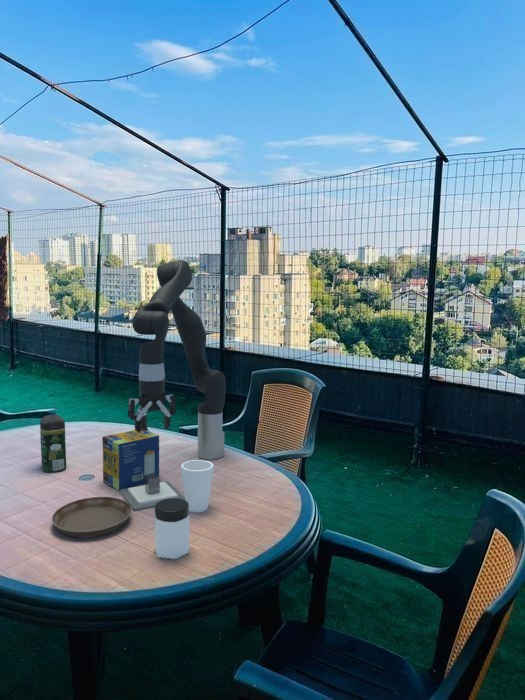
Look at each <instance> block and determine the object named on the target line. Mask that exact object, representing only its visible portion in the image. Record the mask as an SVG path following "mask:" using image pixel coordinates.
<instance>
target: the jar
mask: <svg viewBox="0 0 525 700" xmlns="http://www.w3.org/2000/svg"><path fill="white" fill-rule="evenodd" d="M189 513H190V511H189V504H188V502H187V501H185V500H183V499H179V498H168V499H164V500H161V501H159V502H158V503H156V505H155V507H154V550H155V554H156V556H157V557H156V558H160V557H161V558H162V559H168V558H169V560H170V559H171V560H176V559H179V558H181V557H183V556H185V555H186V554H189V553H190V540H191V539H190V533H191V532H190V522H191V521H190V514H189ZM161 558H160V559H161Z"/></svg>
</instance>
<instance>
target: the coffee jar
mask: <svg viewBox="0 0 525 700" xmlns="http://www.w3.org/2000/svg"><path fill="white" fill-rule="evenodd" d="M39 423H40V424H39V427H40V429H39V431H40V432H39V436H40V452H41V453H40V454H41V468H42V470H43V471H44V472H46V473H58V472H59V473H60V472H61V471H64V470H66V468H67V454H66V453H67V452H66V451H67V445H66V421H65V419H64V418H63V417H62V416H60V415H58V414H49V415H44V416H43V417H42V418H41V419H40V421H39Z"/></svg>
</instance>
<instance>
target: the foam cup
mask: <svg viewBox="0 0 525 700" xmlns="http://www.w3.org/2000/svg"><path fill="white" fill-rule="evenodd" d="M214 468H215V465H214V463H213V462H211V461H209V460H206V459H193V460H187V461H184V462H182V464H180V475H181V478H182V487H183V496H184V497H185V501H187V502H188V504H189V513H202V512H205V511H207V510H208V508H209V503H210V495H211V489H212V483H213V482H212V481H213V475H214V473H215V471H214Z"/></svg>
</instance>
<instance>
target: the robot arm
mask: <svg viewBox="0 0 525 700" xmlns="http://www.w3.org/2000/svg"><path fill="white" fill-rule="evenodd" d="M192 271H193V270H192V268H191V265H190V263H189V262H187V261H186V260H183V259H182V260H181V259H180V260H179V259H178V260H175V261H174V260H173V261H170V262H166V263H161V264H159V265H158V266H157V267H156V276H157V280H158V281H157V282H158V283H159V286H160V287H159V288H158V289H157V290H156V291H155V292H154V293H153V294H152V295H151V297H150V299H149V301H148V302H147V303H145V304H144V305H143V306H141V307H140V308H139V309H137V311H135V313H134V315H133V317H132V321H131V322H132V323H131V324H132V325H131V326H132V329H133V331H134V332H135V333H136V334H139V335H142V336H144V335H147V336H148V335H149V336H155V338H154V340H153V341H152V340H151V341H149V342H143V343H141V344H140V345H139V349H138V351H139V367H138V391H139V392H138V393H139V396H138V398H132V397H130V398H128V402H127V403H128V407H127V417H128V418H129V419H130V420H131V421H134V430H136V431H137V432H138V433H141V421H140V419H141V418H142V416H143V415H144V414H145V413H146V414H147V413H151V412H159V411H161V412H162V413H163V414H164V416H163V428H164V430H168V429H169V427H171V416H173V415H176V414H177V407H176V406H177V404H176V402H177V401H176V396H175V395H174V394H172V393H170V394H168V395H166V393H165V392H166V390H165V389H166V386H165V385H166V382H165V379H166V374H165V362H164V361H165V360H164V357H165V356H164V352H165V351H164V350H165V349H164V348H165V343H166V338H167V334H168V331H169V328H170V327H169V326H170V318H169V314H170V312H171V314H172V316H173V320H174V322H175V325H176V328H177V329H176V330H177V333H178V335H179V338H180V340H181V343H182V345H183V348H184V352H185V355H186V357H187V361H188V363H189V367H190V373H191V377H192V380H193V383H194V384H193V385H194V387H195V388H196V390H197V391H199V392H200V393H203V394H205V396H204V402H201V403H199V404H198V405H197V457H198V458H199V459H200V460H205V461H209V460H218V459H220V458H222V457H225V431H223V409H224V406H225V402H226V391H227V380H226V377H225V374H224V373H223V372H222V371H219V370H216V369H211V367H210V366H209V364H208V359H207V358H206V346H207V333H206V329H205V326H204V324H203V320H202V318H201V317H200V316H199V315H198V314H197V313H196V311H195V310H193V309H192V308H191V307H190V306H188V305H187V304H186V303H185V302H184V301H183V300H182V298H181V297H180V296H181V295H182V294H183V293H184V291H186V289H188V287H190V284H191V283H192V281H193V272H192ZM166 401H167V402H168V403H169V404H168V405H169V410H168V409H167V408H166V406H165V405H164V404H165V402H166ZM137 404H139V405H140V406H139V407H138V408H137V412H136V413H135V408H136V406H137Z"/></svg>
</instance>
